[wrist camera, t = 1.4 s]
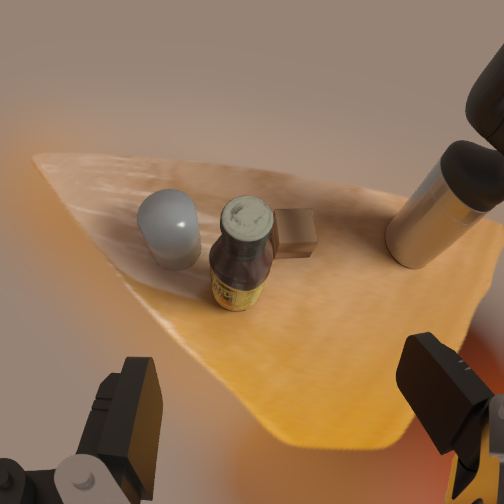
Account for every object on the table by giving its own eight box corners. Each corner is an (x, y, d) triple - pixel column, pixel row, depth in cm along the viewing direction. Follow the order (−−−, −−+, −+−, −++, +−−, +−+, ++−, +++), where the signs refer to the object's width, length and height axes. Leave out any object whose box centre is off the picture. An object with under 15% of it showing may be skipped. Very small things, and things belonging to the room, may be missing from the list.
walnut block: (303, 226, 47) (311, 208, 42) (309, 257, 45) (317, 241, 40) (270, 227, 47) (274, 209, 42) (274, 259, 44) (279, 243, 40)
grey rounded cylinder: (201, 224, 46) (196, 187, 38) (201, 269, 43) (195, 239, 35) (153, 227, 45) (140, 191, 37) (151, 271, 42) (134, 242, 34)
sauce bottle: (206, 277, 42) (192, 189, 24) (250, 263, 44) (265, 169, 26) (222, 323, 40) (218, 262, 22) (268, 307, 41) (299, 235, 23)
